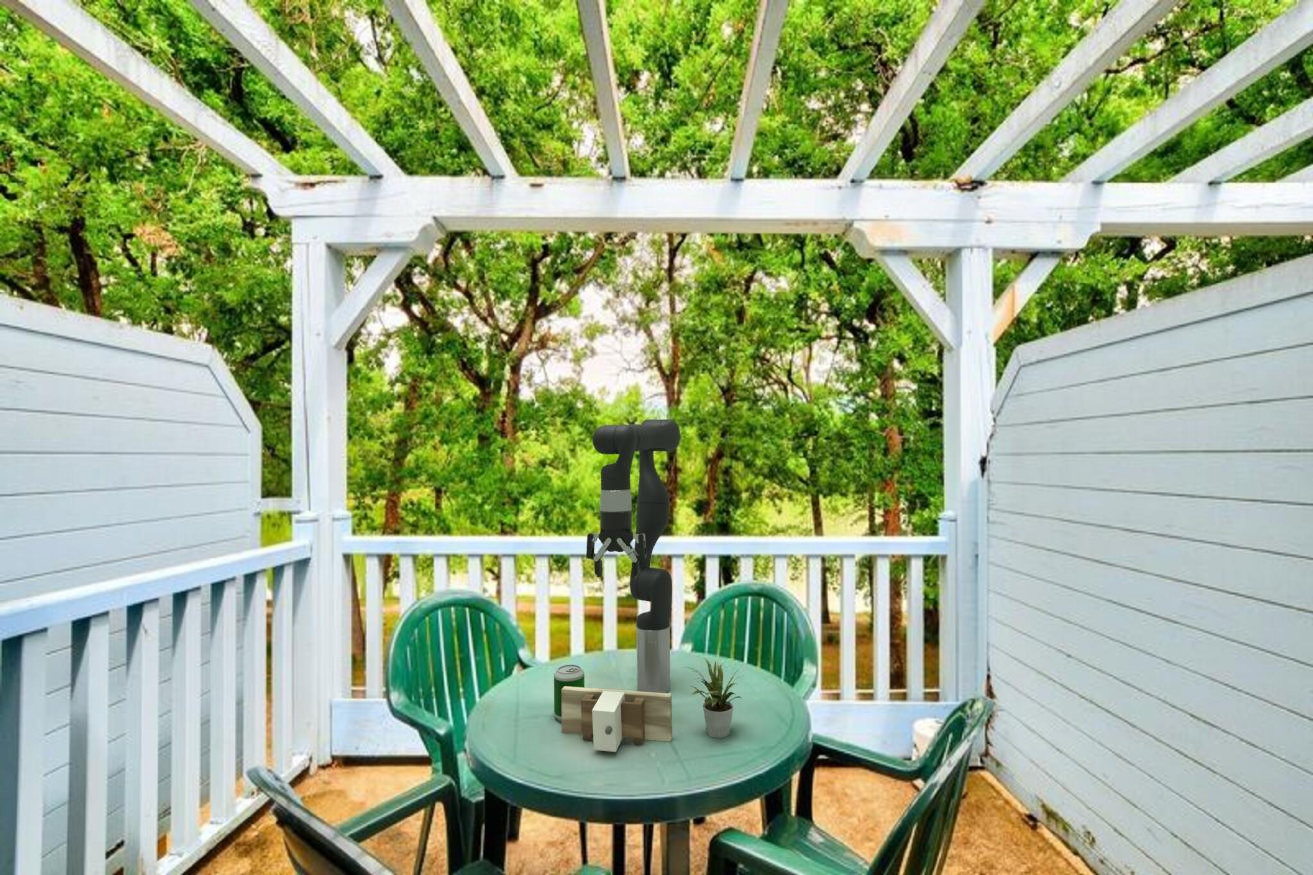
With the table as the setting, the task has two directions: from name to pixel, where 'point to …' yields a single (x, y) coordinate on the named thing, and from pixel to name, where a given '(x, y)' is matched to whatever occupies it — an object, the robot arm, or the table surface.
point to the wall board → (638, 713)
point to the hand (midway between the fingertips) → (616, 577)
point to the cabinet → (607, 721)
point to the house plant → (717, 703)
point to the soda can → (566, 684)
